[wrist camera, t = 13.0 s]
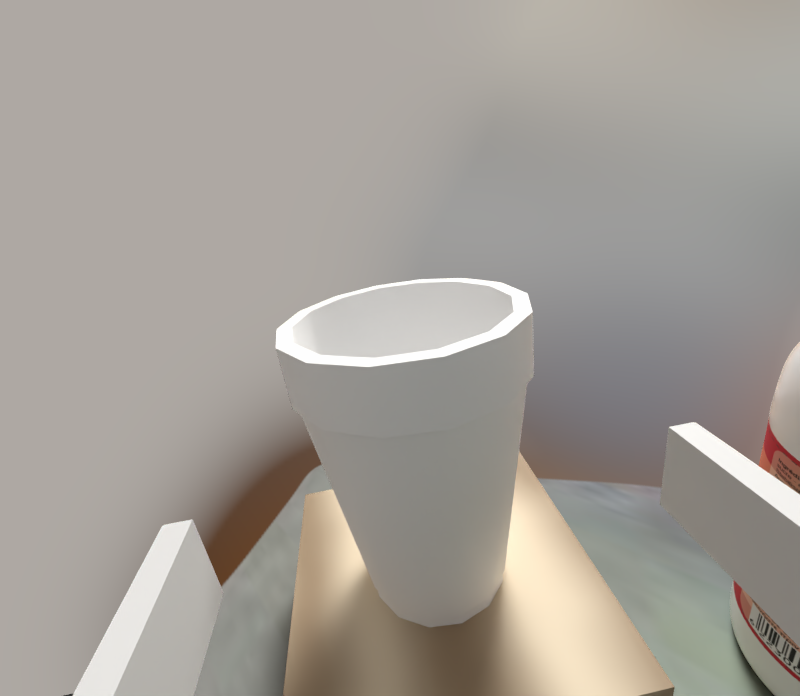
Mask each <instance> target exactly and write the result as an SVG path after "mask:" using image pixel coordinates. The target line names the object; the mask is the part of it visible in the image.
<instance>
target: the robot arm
mask: <svg viewBox="0 0 800 696" xmlns="http://www.w3.org/2000/svg"><path fill="white" fill-rule="evenodd" d="M660 505H661V506H662V507H663V508H664V509H665V510H666V511H667V512H668V513H669V514H670V515H671V516H672V517H673V518H674V519H675V520H676V521H677V522H678V523H679V524H680V525H681V526H682V527H683V528H684V529H685V530H686V531H687V532H688V533H689V534H690V535H691V536H692V538H693V539H694V540H695V541H696V542H697V543H698V544H699V545H700V546H701V547H702V548H703V549H704V550H705V551H706V552H707V553H708V554H709V555H710V556H711V557H712V558H713V559H714V560H715V561H716V562H717V563H718V564H719V565H720V566H721V567H722V568H723V569H724V570H725V571H726V572H727V573H728V575H729V576H730V577H731V578H732V579H733V580H734V581H735V582H736V583H737V584H738V585H739V586H740V587H741V588H742V589H743V590H744V591H745V592H746V593H747V594H748V595H749V596H750V597H751V598H752V599H753V600H754V601H755V602H756V603H757V604H758V605H759V606H760V607H761V608H762V609H763V610H764V611H765V613H766V614H767V615H768V616H769V617H770V618H771V619H772V620H773V621H774V622H775V623H776V624H777V625H778V626H779V627H780V628H781V629H782V630H783V631H784V632H785V633H786V634H787V635H788V636H789V637H790V638H791V639H792V640H793V641H794V642H795V643H796V644H797V645H798V646H799V647H800V494H798V493H797V492H795V491H794V490H792V489H791V488H790V487H788V486H787V485H785V484H784V483H782V482H781V481H779V480H778V479H777V478H775V477H774V476H772V475H771V474H769V473H768V472H766V471H765V470H764V469H762V468H761V467H759V466H758V465H756V464H755V463H753V462H752V461H751V460H749V459H747V458H746V457H745V456H743V455H742V454H740V453H739V452H737V451H736V450H735V449H733V448H732V447H730V446H729V445H727V444H726V443H724V442H723V441H722V440H720V439H718V438H717V437H716V436H714V435H713V434H711V433H710V432H708V431H707V430H706V429H704V428H703V427H701V426H700V425H698V424H697V423H695V422H692V423H687V424H682V425H677V426H672V427H669V430H668V439H667V447H666V456H665V465H664V473H663V482H662V490H661V498H660ZM223 594H224V593H223V591H222V588H221V586H220V584H219V581H218V579H217V576H216V574H215V572H214V569H213V567H212V564H211V562H210V560H209V557H208V555H207V553H206V550H205V548H204V545H203V543H202V541H201V538H200V536H199V534H198V531H197V529H196V526H195V524H194V522H193V520H187V521H182V522H177V523H172V524H166V525H163V526H162V528H161V529H160V531H159V533H158V535H157V537H156V539H155V541H154V543H153V545H152V546H151V548H150V550H149V552H148V554H147V556H146V558H145V560H144V562H143V564H142V565H141V567H140V569H139V571H138V573H137V575H136V577H135V579H134V581H133V582H132V584H131V586H130V588H129V590H128V592H127V594H126V596H125V598H124V599H123V601H122V603H121V605H120V607H119V609H118V611H117V613H116V615H115V616H114V618H113V620H112V622H111V624H110V626H109V628H108V630H107V632H106V633H105V635H104V638H103V639H102V641H101V643H100V645H99V647H98V649H97V651H96V652H95V654H94V656H93V658H92V660H91V662H90V664H89V666H88V668H87V669H86V671H85V673H84V675H83V677H82V679H81V681H80V683H79V685H78V687H77V688H76V690H75V692H74V694H69V695H64V696H194V693H195V689H196V686H197V682H198V679H199V676H200V672H201V669H202V665H203V662H204V659H205V655H206V652H207V648H208V645H209V641H210V638H211V635H212V631H213V628H214V624H215V621H216V618H217V614H218V611H219V607H220V604H221V601H222V597H223Z"/></svg>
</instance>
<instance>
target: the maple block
mask: <svg viewBox="0 0 800 696" xmlns="http://www.w3.org/2000/svg"><path fill="white" fill-rule="evenodd" d="M673 692H674V685H673V684H672V682H671V681H670V679H669V678H668V676H667V675H666V673H665V672H664V670H663V669H662V667H661V666H660V664H659V663H658V661H657V660H656V658H655V657H654V655H653V654H652V652H651V651H650V649H649V648H648V646H647V645H646V643H645V642H644V640H643V638H642V637H641V635H640V634H639V632H638V631H637V629H636V628H635V626H634V625H633V623H632V622H631V620H630V619H629V617H628V616H627V614H626V613H625V611H624V610H623V608H622V607H621V605H620V604H619V602H618V601H617V599H616V598H615V596H614V595H613V593H612V591H611V590H610V588H609V587H608V585H607V584H606V582H605V581H604V579H603V578H602V576H601V575H600V573H599V572H598V570H597V569H596V567H595V566H594V564H593V563H592V561H591V560H590V558H589V557H588V555H587V554H586V552H585V551H584V549H583V547H582V546H581V544H580V543H579V541H578V540H577V538H576V537H575V535H574V534H573V532H572V531H571V529H570V528H569V526H568V525H567V523H566V522H565V520H564V519H563V517H562V516H561V514H560V513H559V511H558V510H557V508H556V507H555V505H554V504H553V502H552V500H551V499H550V497H549V496H548V494H547V493H546V491H545V490H544V488H543V487H542V485H541V484H540V482H539V481H538V479H537V478H536V476H535V475H534V473H533V472H532V470H531V469H530V467H529V466H528V464H527V463H526V461H525V460H524V458H523V457H522V455H521V453H520V452H519V455H518V463H517V471H516V479H515V488H514V496H513V504H512V512H511V521H510V529H509V537H508V545H507V554H506V562H505V570H504V573H503V582H502V583H501V585H500V587H499V589H498V591H497V593H496V594H495V596H494V598H493V600H492V602H491V603H490V605H489V606H488V607H487V608H485V609H484V610H482V611H481V612H479V613H478V614H476V615H474V616H473V617H471V618H470V619H468V620H467V621H465V622H464V623H462V624H453V625H445V626H437V627H426V626H423V625H420V624H417V623H414V622H411V621H408V620H405V619H402V618H399V617H398V616H397V615H396V614H395V613H394V612H393V611H392V610H391V609H390V607H389V606H388V605H387V604H386V603H385V602H384V601H383V600H382V599H381V598H380V597H379V594H378V590H377V589H376V588H375V587H374V584H373V582H372V580H371V577H370V575H369V573H368V570H367V568H366V566H365V563H364V561H363V559H362V556H361V554H360V552H359V549H358V547H357V545H356V542H355V540H354V538H353V535H352V533H351V531H350V528H349V526H348V524H347V521H346V519H345V517H344V514H343V512H342V510H341V507H340V505H339V503H338V500H337V498H336V496H335V493H334V491H333V489H332V490H327V491H322V492H317V493H312V494H307V495H305V503H304V512H303V521H302V530H301V539H300V548H299V557H298V566H297V575H296V584H295V593H294V602H293V610H292V619H291V628H290V637H289V646H288V655H287V664H286V673H285V682H284V691H283V696H673Z"/></svg>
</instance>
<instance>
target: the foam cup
mask: <svg viewBox="0 0 800 696" xmlns="http://www.w3.org/2000/svg"><path fill="white" fill-rule="evenodd" d="M276 351H277V355H278V358H279V362H280V366H281V369H282V373H283V377H284V381H285V384H286V388H287V392H288V395H289V399H290V403H291V407H292V409H293V410H294V411H296V412H297V413H299V414H300V415H301V416H302V419H303V421H304V423H305V425H306V428H307V430H308V433H309V435H310V437H311V440H312V442H313V444H314V447H315V449H316V451H317V454H318V456H319V458H320V461H321V463H322V465H323V468H324V470H325V472H326V475H327V477H328V479H329V482H330V484H331V486H332V489H333V491H334V493H335V496H336V498H337V500H338V503H339V505H340V507H341V510H342V512H343V514H344V517H345V519H346V521H347V524H348V526H349V528H350V531H351V533H352V535H353V538H354V540H355V542H356V545H357V547H358V549H359V552H360V554H361V556H362V559H363V561H364V563H365V566H366V568H367V570H368V573H369V575H370V577H371V580H372V582H373V584H374V587H375V588H376V589H377V590H378V594H379V597H380V598H381V599H382V600H383V601H384V602H385V603H386V604H387V605H388V606H389V607H390V609H391V610H392V611H393V612H394V613H395V614H396V615H397V616H398V617H399V618H402V619H405V620H408V621H411V622H414V623H417V624H420V625H423V626H426V627H437V626H445V625H453V624H462V623H464V622H465V621H467V620H468V619H470V618H471V617H473V616H474V615H476V614H478V613H479V612H481V611H482V610H484V609H485V608H487V607H488V606H489V605H490V603H491V602H492V600H493V598H494V596H495V594H496V593H497V591H498V589H499V587H500V585H501V583H502V582H503V573H504V570H505V562H506V554H507V545H508V537H509V529H510V521H511V512H512V504H513V496H514V488H515V479H516V471H517V463H518V455H519V446H520V438H521V430H522V421H523V414H524V405H525V397H526V389H527V383H528V382H529V381H530V380H531V379H532V377H533V376H534V357H533V355H534V353H533V311H532V308H531V304H530V301H529V297H528V294H527V293H525V292H522V291H520V290H518V289H516V288H513V287H511V286H508V285H506V284H504V283H501V282H493V281H484V280H475V279H467V278H451V279H450V278H449V279H420V280H413V281H407V282H399V283H392V284H385V285H378V286H373V287H370V288H365V289H362V290H358V291H354V292H350V293H346V294H342V295H339V296H335V297H332V298H330V299H327V300H325V301H323V302H320V303H318V304H315V305H313V306H311V307H309V308H306V309H304V310H301V311H299V312H298V313H296V314H295V315H294V316H293V317H291V318H290V319H289V320H288V321H287V322H285V323H284V324H283V325H281V326H280V327H279V328H278V329H277V332H276Z"/></svg>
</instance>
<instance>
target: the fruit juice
mask: <svg viewBox="0 0 800 696" xmlns="http://www.w3.org/2000/svg"><path fill="white" fill-rule="evenodd" d="M759 467H761V468H762V469H764V470H765V471H766V472H768V473H769V474H771V475H772V476H774V477H775V478H777V479H778V480H779V481H781V482H782V483H784V484H785V485H787V486H788V487H790V488H791V489H792V490H794V491H795V492H797V493H798V494H800V342H799V343H798V344H797V345H796V347H795V348H794V349H793V350H792V352H791V353H790V355H789V357H788V358H787V361H786V363H785V365H784V367H783V370H782V372H781V375H780V378H779V381H778V384H777V387H776V391H775V394H774V397H773V400H772V404H771V409H770V414H769V420H768V426H767V431H766V435H765V440H764V444H763V449H762V453H761V458H760V462H759ZM730 616H731V622H732V626H733V630H734V633H735V636H736V639H737V642H738V644H739V646H740V648H741V650H742V652H743V654H744V656H745V658H746V659H747V661H748V663H749V664H750V666H751V667H752V669H753V670H754V671H755V673H756V674H757V676H758V677H759V678H760V679H761V681H762V682H763V683H764V684H765V685H766V687H767V688H768V689H769V690H770V691H771V692H772V693H773V694H774V695H775V696H800V647H799V646H798V645H797V644H796V643H795V642H794V641H793V640H792V639H791V638H790V637H789V636H788V635H787V634H786V633H785V632H784V631H783V630H782V629H781V628H780V627H779V626H778V625H777V624H776V623H775V622H774V621H773V620H772V619H771V618H770V617H769V616H768V615H767V614H766V613H765V611H764V610H763V609H762V608H761V607H760V606H759V605H758V604H757V603H756V602H755V601H754V600H753V599H752V598H751V597H750V596H749V595H748V594H747V593H746V592H745V591H744V590H743V589H742V588H741V587H740V586H739V585H738V584H737V583H736V582H735V581H734V580H733V584H732V589H731V594H730Z"/></svg>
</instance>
